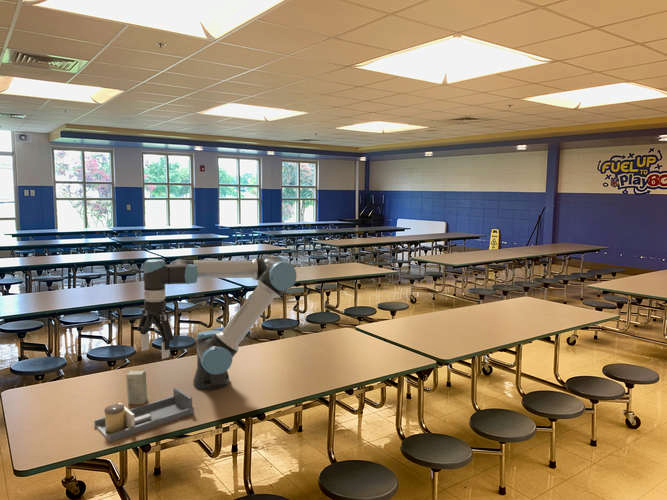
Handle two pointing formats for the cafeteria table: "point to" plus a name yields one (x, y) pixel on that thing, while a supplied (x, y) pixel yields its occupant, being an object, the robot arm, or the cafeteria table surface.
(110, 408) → the jar
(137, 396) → the skincare box
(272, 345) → the cafeteria table surface
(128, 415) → the pusher
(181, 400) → the lane
